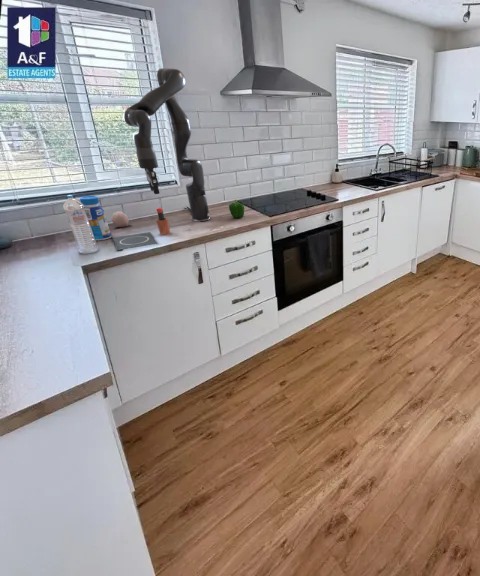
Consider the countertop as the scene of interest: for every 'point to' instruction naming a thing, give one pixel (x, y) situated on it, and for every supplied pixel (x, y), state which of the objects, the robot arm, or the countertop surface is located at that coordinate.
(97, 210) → the blue lidded canister
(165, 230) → the pen pot
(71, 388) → the countertop surface
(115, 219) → the egg
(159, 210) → the marker
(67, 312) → the countertop surface
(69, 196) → the water bottle
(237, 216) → the bell pepper
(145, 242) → the slate board
